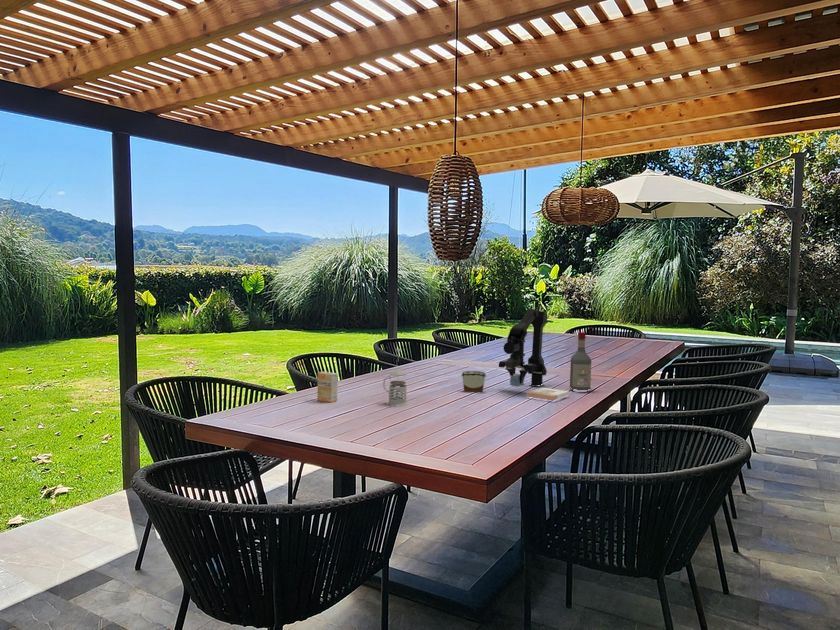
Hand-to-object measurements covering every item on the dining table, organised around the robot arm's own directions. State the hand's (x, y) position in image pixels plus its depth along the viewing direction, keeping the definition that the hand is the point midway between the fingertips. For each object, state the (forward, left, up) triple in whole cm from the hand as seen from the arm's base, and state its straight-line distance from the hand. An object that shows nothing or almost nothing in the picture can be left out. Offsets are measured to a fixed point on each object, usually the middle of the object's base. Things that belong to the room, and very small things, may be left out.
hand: (517, 382), depth 294 cm
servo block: (0, 0, -1) cm, 1 cm away
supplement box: (+77, -54, -5) cm, 94 cm away
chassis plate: (0, +17, -5) cm, 18 cm away
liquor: (-27, +21, -5) cm, 35 cm away
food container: (+12, -18, -5) cm, 22 cm away
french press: (+59, -28, -5) cm, 65 cm away
